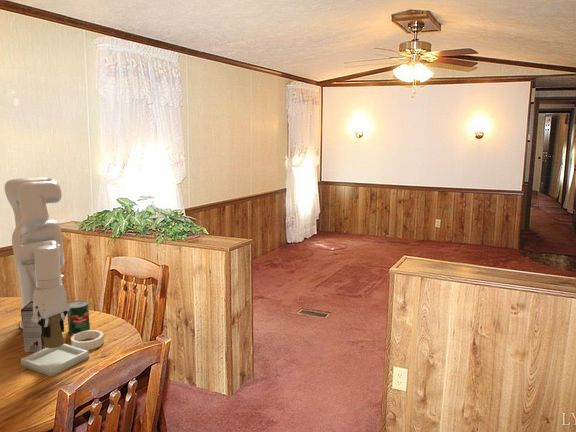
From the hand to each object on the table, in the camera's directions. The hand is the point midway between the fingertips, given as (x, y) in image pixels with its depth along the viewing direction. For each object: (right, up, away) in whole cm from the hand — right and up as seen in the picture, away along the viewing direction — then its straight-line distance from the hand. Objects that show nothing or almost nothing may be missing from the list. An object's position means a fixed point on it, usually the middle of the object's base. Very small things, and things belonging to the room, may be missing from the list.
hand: (53, 333), depth 163 cm
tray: (0, -10, +2) cm, 10 cm away
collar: (+5, -8, +16) cm, 18 cm away
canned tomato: (-3, -6, +28) cm, 29 cm away
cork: (0, -4, +1) cm, 4 cm away
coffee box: (-12, -8, +14) cm, 20 cm away
